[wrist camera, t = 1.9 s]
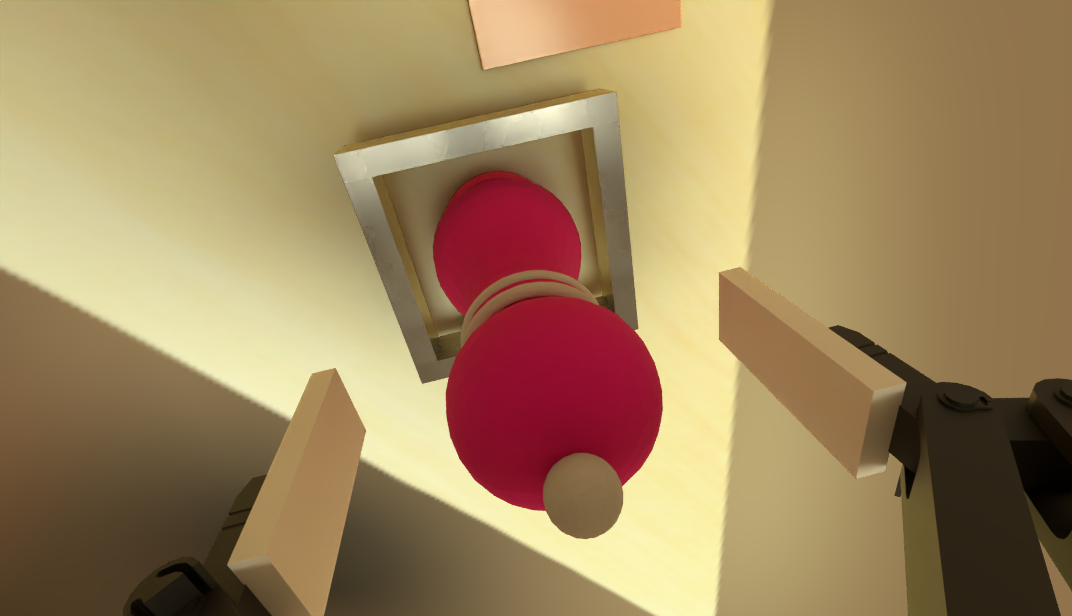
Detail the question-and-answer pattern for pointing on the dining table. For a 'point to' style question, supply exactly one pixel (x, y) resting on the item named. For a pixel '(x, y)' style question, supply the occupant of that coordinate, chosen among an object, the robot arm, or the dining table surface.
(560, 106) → the square frame with post
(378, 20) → the dining table surface
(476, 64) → the dining table surface
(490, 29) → the terracotta tile
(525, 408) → the pepper mill
